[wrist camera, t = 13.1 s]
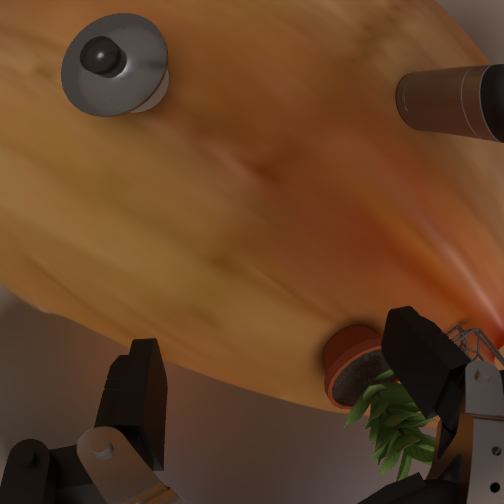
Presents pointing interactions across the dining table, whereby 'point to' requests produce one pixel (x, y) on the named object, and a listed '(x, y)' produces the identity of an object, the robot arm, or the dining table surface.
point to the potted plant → (375, 398)
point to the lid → (114, 65)
